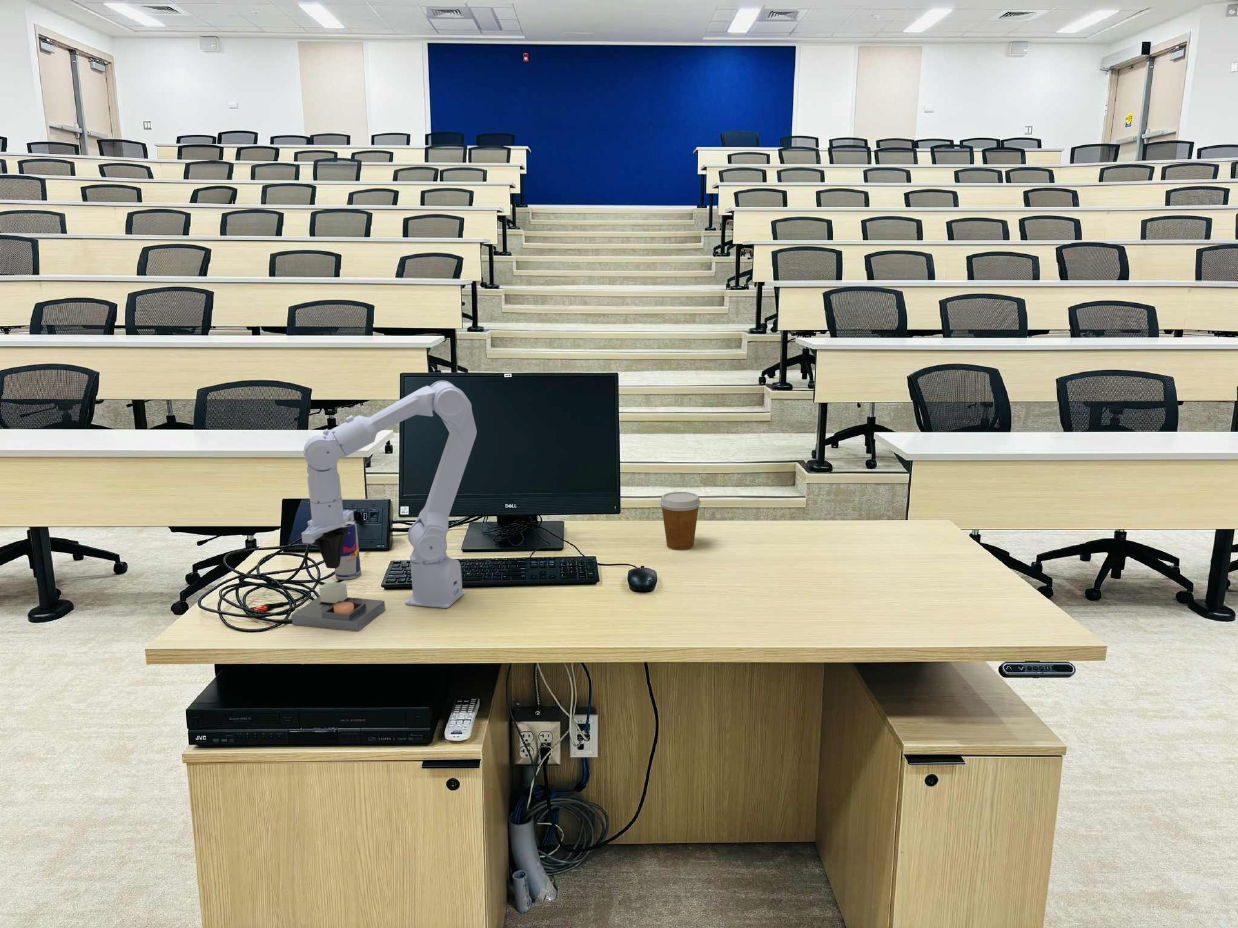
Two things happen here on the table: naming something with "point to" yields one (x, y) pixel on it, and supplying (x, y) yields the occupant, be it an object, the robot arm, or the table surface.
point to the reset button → (344, 608)
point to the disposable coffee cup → (680, 518)
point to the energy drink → (349, 555)
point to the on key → (333, 592)
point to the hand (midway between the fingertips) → (333, 567)
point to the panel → (338, 614)
